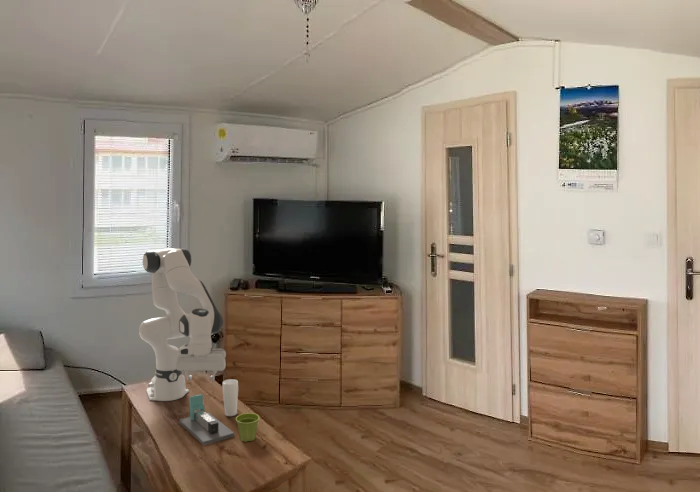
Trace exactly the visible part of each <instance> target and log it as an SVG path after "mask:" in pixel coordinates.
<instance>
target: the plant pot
mask: <svg viewBox="0 0 700 492" xmlns="http://www.w3.org/2000/svg"><path fill="white" fill-rule="evenodd" d="M259 420H260V415H259V414H257V413H253V412H246V413H241V414H239V415H237V416H236V417H235V422H236V424H237V429H238V434H239V439H240V441H242V442H244V443H247V442H253V441H254V440H255V439H256V435H257V427H258V423H259Z"/></svg>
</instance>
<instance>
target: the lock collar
mask: <svg viewBox="0 0 700 492" xmlns="http://www.w3.org/2000/svg"><path fill="white" fill-rule="evenodd" d="M203 395H204V394H203V393H199V394H196V395H191V396H189V398H188V399H189V417H190V419H191V420H194V411H198V410H200V411H201V410H203V411H204V412H206V409H205V407H206V406H205V405H204V396H203Z"/></svg>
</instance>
